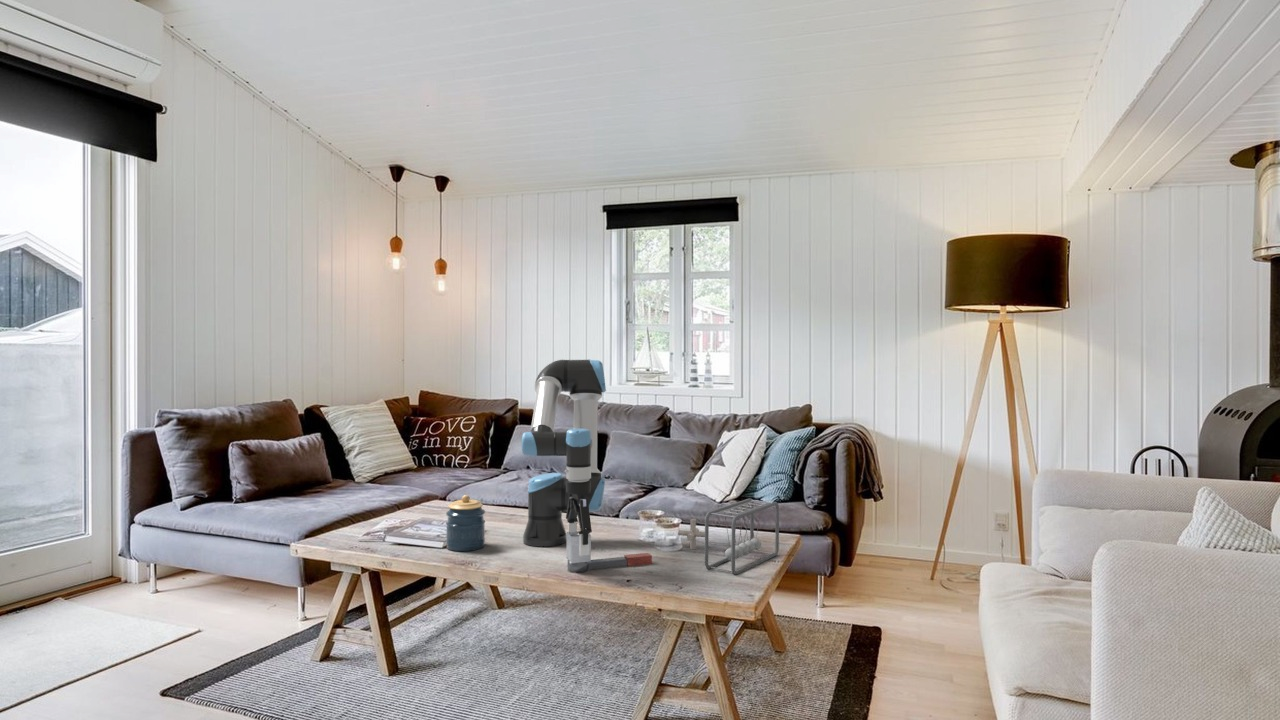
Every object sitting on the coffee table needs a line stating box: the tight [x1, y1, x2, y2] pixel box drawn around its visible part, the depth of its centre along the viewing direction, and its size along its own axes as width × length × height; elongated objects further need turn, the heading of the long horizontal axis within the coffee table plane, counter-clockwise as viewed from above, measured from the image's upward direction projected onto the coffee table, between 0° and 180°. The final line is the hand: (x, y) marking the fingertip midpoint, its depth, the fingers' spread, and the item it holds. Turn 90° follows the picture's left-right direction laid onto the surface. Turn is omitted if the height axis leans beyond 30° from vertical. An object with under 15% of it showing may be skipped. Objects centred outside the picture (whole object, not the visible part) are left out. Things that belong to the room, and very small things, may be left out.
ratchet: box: [567, 552, 653, 574], centre depth 228 cm, size 6×27×8 cm, turn 110°
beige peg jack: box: [677, 518, 705, 550], centre depth 248 cm, size 10×10×10 cm
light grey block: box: [565, 530, 592, 563], centre depth 224 cm, size 6×6×8 cm
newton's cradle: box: [704, 498, 780, 576], centre depth 233 cm, size 30×10×18 cm, turn 143°
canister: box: [445, 494, 486, 552], centre depth 250 cm, size 13×13×18 cm
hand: (578, 549), depth 224 cm, fingers open, 13 cm apart
